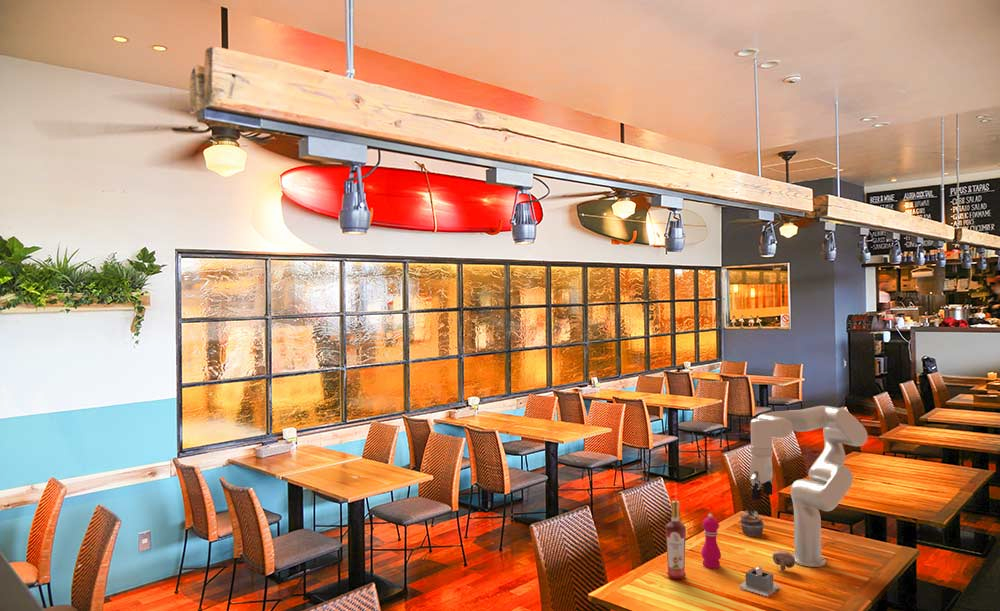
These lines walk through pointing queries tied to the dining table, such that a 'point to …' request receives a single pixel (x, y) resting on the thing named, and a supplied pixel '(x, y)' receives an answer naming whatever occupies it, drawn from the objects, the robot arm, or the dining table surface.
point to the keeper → (758, 590)
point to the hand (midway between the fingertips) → (762, 496)
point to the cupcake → (752, 523)
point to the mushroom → (784, 559)
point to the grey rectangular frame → (759, 579)
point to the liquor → (675, 545)
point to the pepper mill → (711, 543)
